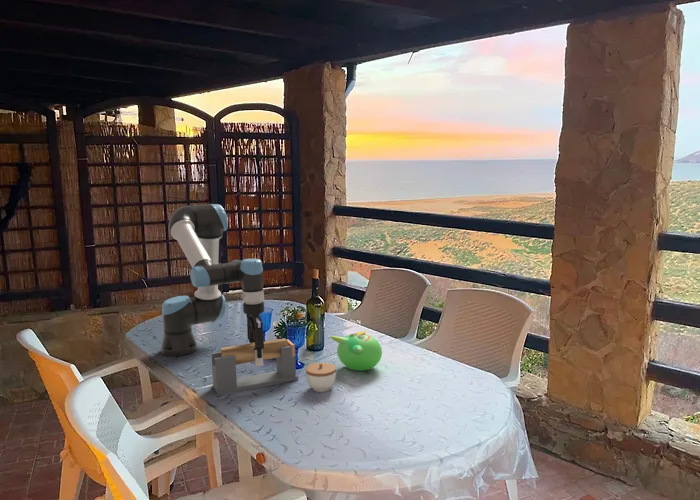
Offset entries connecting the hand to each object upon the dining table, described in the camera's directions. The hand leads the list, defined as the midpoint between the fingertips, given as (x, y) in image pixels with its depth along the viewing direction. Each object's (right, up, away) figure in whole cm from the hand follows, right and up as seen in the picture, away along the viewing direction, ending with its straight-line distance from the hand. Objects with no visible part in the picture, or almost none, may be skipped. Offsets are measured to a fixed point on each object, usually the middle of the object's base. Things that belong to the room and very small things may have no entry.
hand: (256, 362), depth 202 cm
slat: (0, +1, 0) cm, 1 cm away
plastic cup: (+7, -2, +37) cm, 37 cm away
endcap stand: (0, -8, +1) cm, 8 cm away
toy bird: (+38, -5, +13) cm, 40 cm away
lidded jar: (+24, -8, -5) cm, 26 cm away
